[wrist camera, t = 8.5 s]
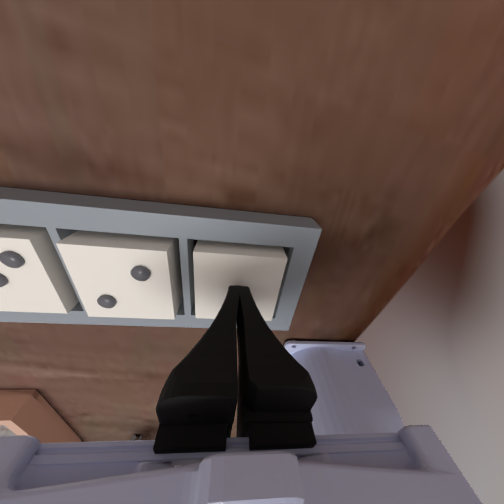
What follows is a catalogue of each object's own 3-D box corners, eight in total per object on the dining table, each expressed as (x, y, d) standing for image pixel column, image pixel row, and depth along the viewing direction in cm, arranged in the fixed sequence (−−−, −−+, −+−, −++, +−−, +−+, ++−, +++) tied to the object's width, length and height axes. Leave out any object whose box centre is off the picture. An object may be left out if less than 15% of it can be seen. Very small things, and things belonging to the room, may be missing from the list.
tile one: (280, 240, 15) (288, 260, 12) (267, 298, 18) (271, 322, 15) (200, 234, 14) (192, 253, 12) (201, 295, 17) (195, 320, 15)
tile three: (64, 222, 13) (25, 241, 11) (90, 289, 16) (65, 315, 14) (-40, 214, 12) (-105, 231, 10) (9, 285, 15) (-33, 312, 13)
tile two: (178, 233, 14) (165, 253, 11) (183, 296, 17) (173, 321, 14) (86, 225, 13) (52, 245, 11) (108, 292, 16) (86, 318, 14)
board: (312, 217, 14) (322, 229, 12) (283, 313, 19) (288, 330, 17) (-97, 176, 11) (-159, 183, 9) (-4, 301, 16) (-33, 320, 14)
